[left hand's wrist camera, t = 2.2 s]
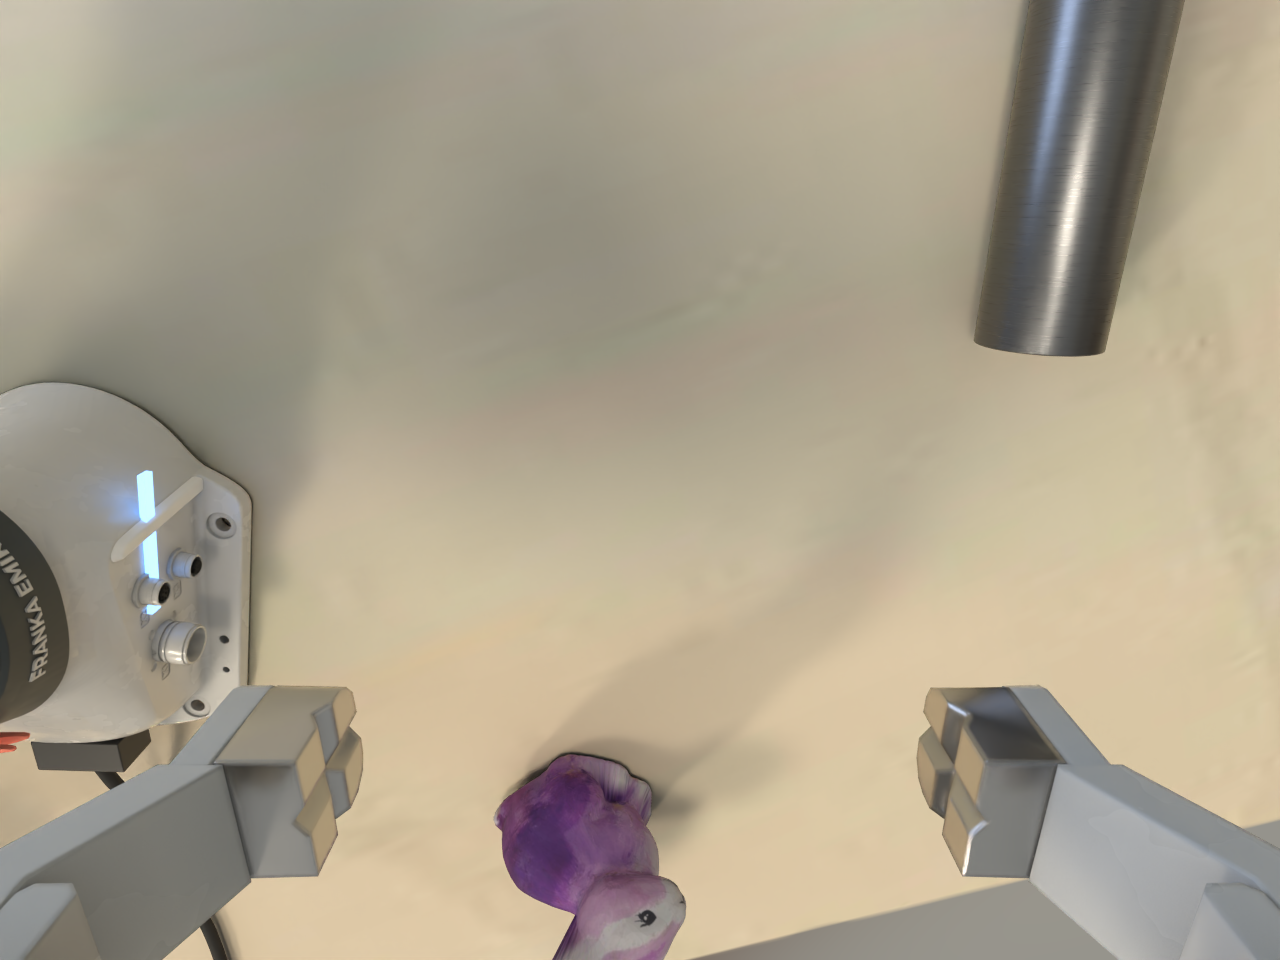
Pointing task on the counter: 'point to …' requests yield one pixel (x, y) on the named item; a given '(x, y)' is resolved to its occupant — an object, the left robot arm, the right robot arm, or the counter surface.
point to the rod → (1073, 171)
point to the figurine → (592, 859)
